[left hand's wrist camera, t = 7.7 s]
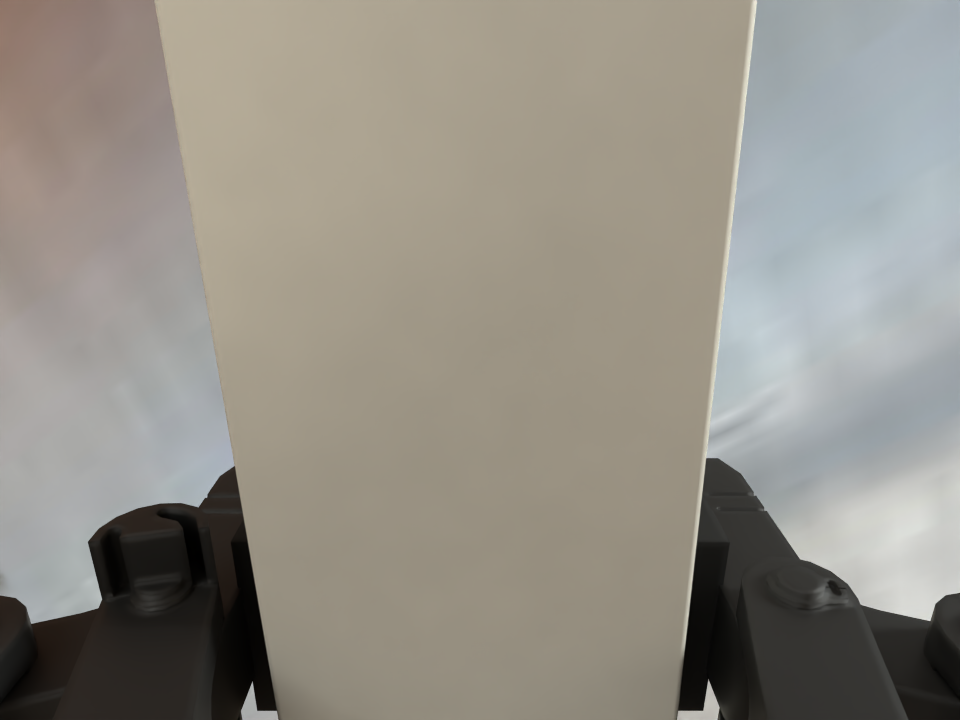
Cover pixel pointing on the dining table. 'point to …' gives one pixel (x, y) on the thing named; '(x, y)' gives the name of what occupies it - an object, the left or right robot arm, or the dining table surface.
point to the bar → (466, 335)
